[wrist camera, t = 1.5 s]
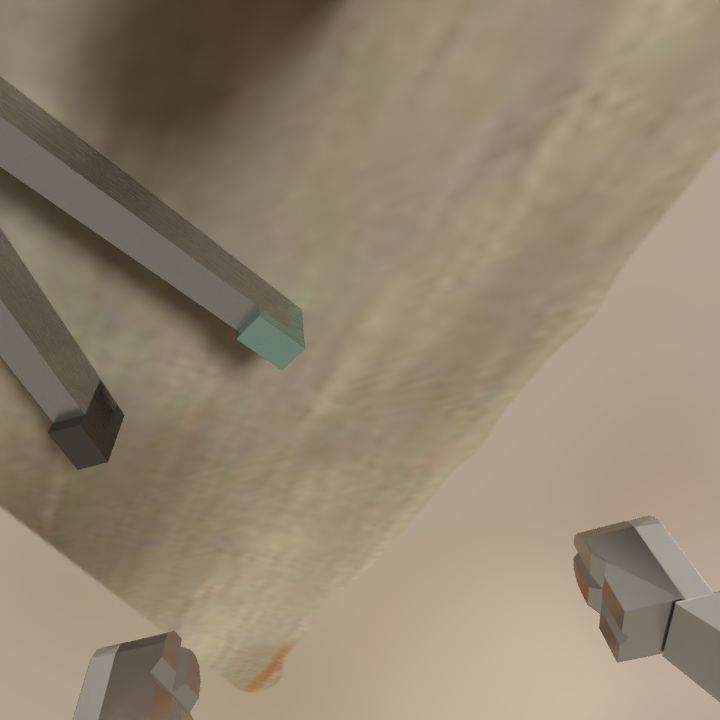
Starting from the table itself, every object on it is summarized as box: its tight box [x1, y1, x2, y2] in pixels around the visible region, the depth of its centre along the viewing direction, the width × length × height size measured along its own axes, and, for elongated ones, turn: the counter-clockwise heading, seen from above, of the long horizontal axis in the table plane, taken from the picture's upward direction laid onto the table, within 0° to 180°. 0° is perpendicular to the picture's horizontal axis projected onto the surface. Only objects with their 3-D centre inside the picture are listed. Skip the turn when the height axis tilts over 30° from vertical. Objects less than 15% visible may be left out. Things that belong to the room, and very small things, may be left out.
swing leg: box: [0, 77, 305, 370], centre depth 25 cm, size 17×2×4 cm, turn 44°
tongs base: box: [0, 229, 124, 469], centre depth 24 cm, size 22×4×7 cm, turn 12°
